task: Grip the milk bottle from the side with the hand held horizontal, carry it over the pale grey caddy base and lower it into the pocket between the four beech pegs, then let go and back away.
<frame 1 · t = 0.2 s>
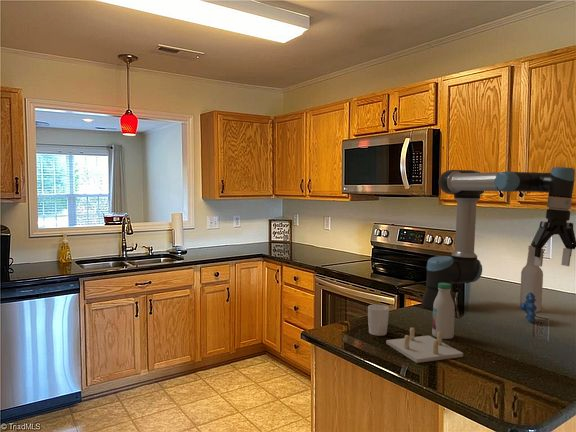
hand: (551, 265, 161), 27 cm above the counter, tool pointing down, fingers open, 13 cm apart
grapes: (527, 321, 183), on the counter
white cup: (377, 333, 165), on the counter
milk bottle: (442, 336, 162), on the counter
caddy: (423, 349, 148), on the counter
alcohol: (530, 310, 200), on the counter
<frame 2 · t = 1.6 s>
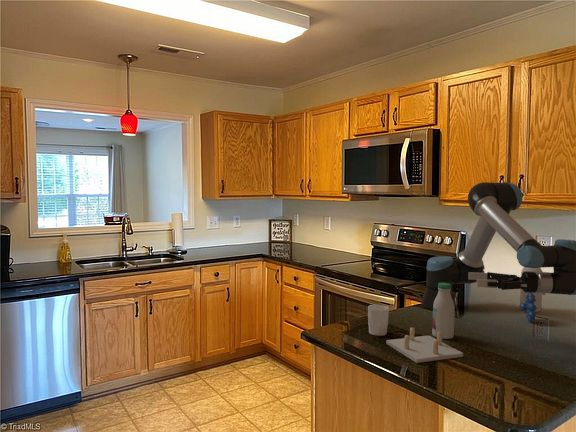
hand: (472, 279, 159), 22 cm above the counter, tool horizontal, fingers open, 13 cm apart
nothing on the counter moved.
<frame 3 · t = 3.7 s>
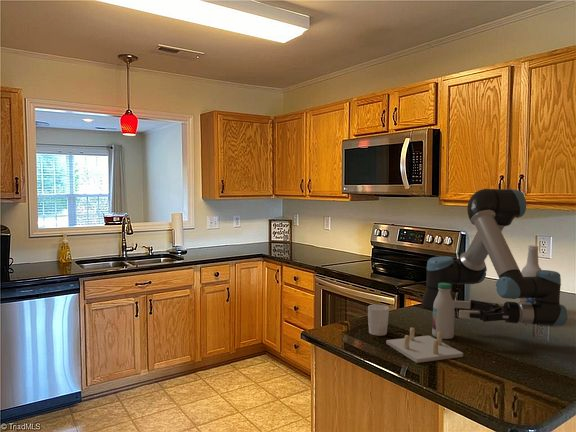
hand: (455, 308, 160), 11 cm above the counter, tool horizontal, fingers open, 13 cm apart
nothing on the counter moved.
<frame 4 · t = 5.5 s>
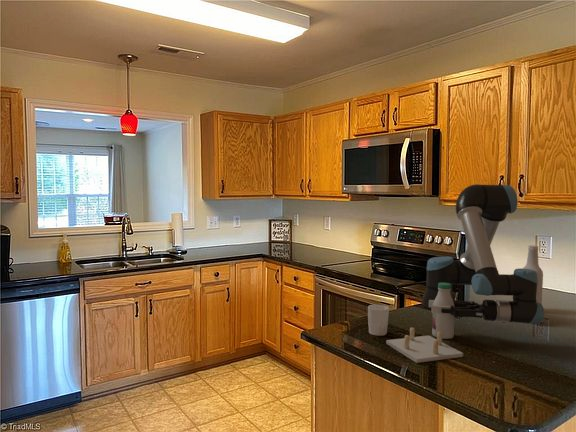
hand: (430, 306, 162), 11 cm above the counter, tool horizontal, fingers closed on milk bottle, 7 cm apart
milk bottle: (442, 336, 162), on the counter, touching gripper
everything else where it was.
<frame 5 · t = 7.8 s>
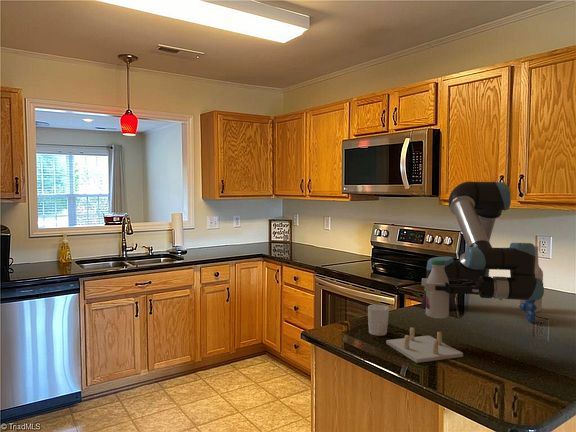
hand: (423, 284, 153), 21 cm above the counter, tool horizontal, fingers closed on milk bottle, 7 cm apart
milk bottle: (437, 316, 152), point 10 cm above the counter, touching gripper
everything else where it was.
when the fingers open (14 cm above the counter, at t = 10.0 s): milk bottle drops 2 cm, resting on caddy.
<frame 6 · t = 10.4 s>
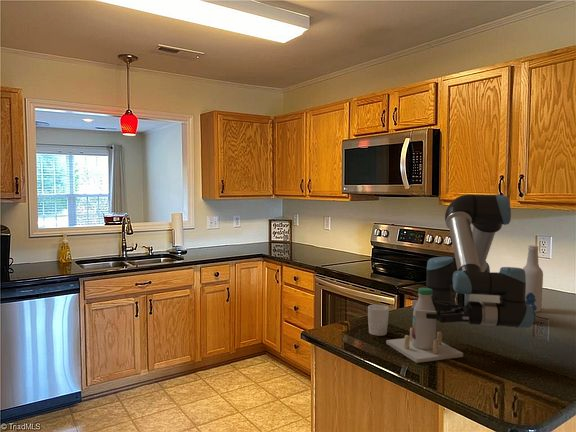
hand: (413, 308, 147), 14 cm above the counter, tool horizontal, fingers open, 12 cm apart
milk bottle: (423, 346, 148), point 1 cm above the counter, touching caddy
everything else where it was.
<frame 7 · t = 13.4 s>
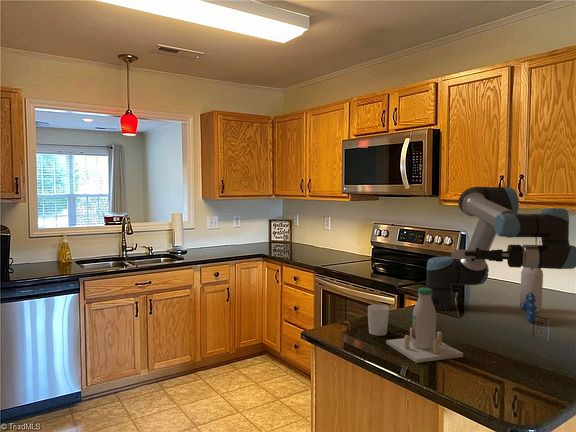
hand: (452, 254, 148), 33 cm above the counter, tool horizontal, fingers open, 13 cm apart
nothing on the counter moved.
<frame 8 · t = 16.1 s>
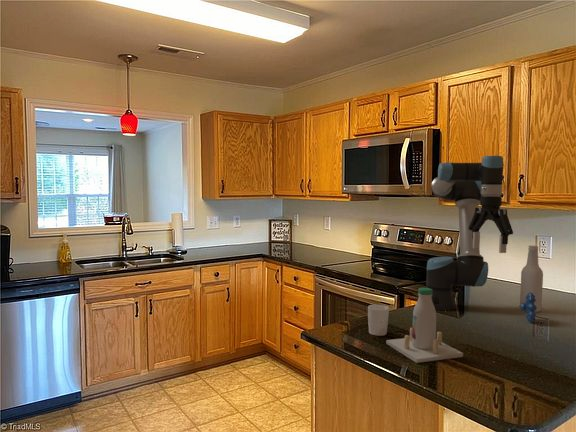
hand: (488, 250, 168), 32 cm above the counter, tool pointing down, fingers open, 13 cm apart
nothing on the counter moved.
at the end: milk bottle 0.3 cm off-centre on the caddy, point 1.0 cm above the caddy's base; milk bottle tilted 0°; the gripper is holding nothing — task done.
